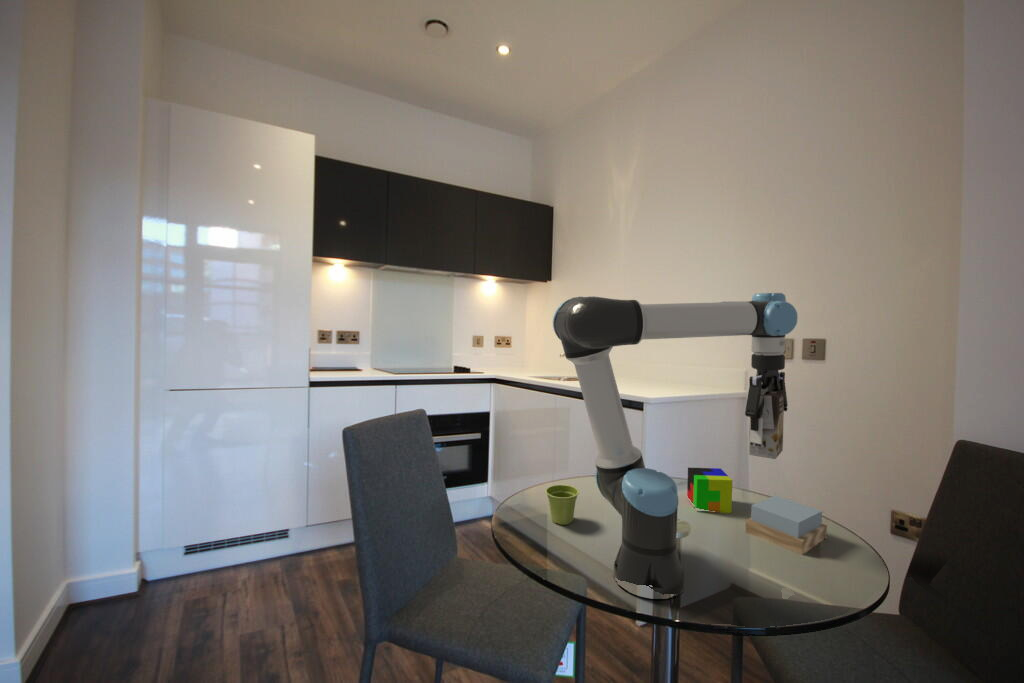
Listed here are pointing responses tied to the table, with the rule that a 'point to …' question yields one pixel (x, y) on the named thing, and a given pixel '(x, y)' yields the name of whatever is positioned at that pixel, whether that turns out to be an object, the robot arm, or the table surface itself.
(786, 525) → the slate-blue top slab
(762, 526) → the oak base slab
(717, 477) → the puzzle toy
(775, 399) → the coffee box
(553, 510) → the plant pot
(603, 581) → the table surface
